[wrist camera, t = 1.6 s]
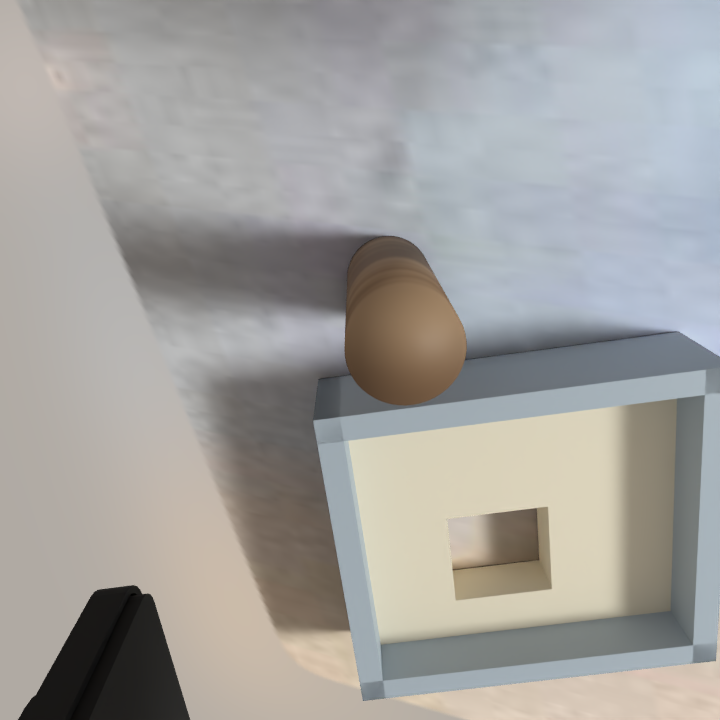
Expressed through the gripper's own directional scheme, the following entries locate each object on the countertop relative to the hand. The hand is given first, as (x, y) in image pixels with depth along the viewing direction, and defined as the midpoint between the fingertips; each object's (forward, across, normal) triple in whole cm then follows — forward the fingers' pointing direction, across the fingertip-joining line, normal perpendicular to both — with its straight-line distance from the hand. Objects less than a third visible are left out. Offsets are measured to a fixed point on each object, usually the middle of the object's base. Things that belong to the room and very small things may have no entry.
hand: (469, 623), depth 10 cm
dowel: (+23, 0, 0) cm, 23 cm away
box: (+23, -5, +13) cm, 27 cm away
